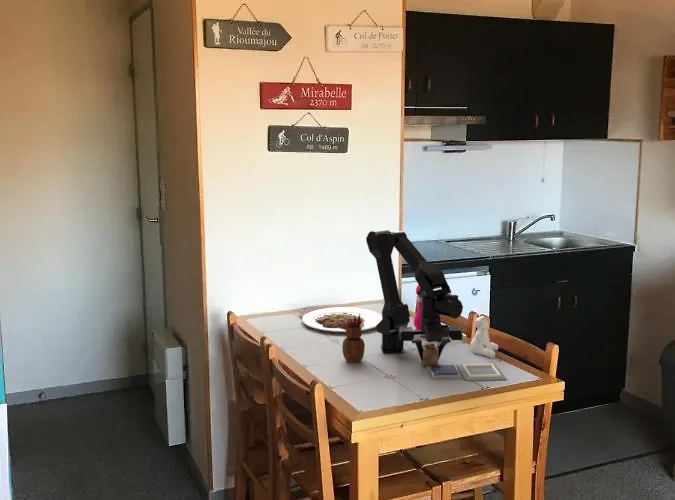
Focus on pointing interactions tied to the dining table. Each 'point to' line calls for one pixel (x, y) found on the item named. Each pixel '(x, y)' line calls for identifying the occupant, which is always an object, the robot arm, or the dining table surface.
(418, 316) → the pepper mill
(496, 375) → the board
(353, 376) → the dining table surface
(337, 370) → the dining table surface
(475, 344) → the seated beast figurine
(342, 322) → the plated food
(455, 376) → the ink pad
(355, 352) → the wooden figurine
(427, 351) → the stamp
